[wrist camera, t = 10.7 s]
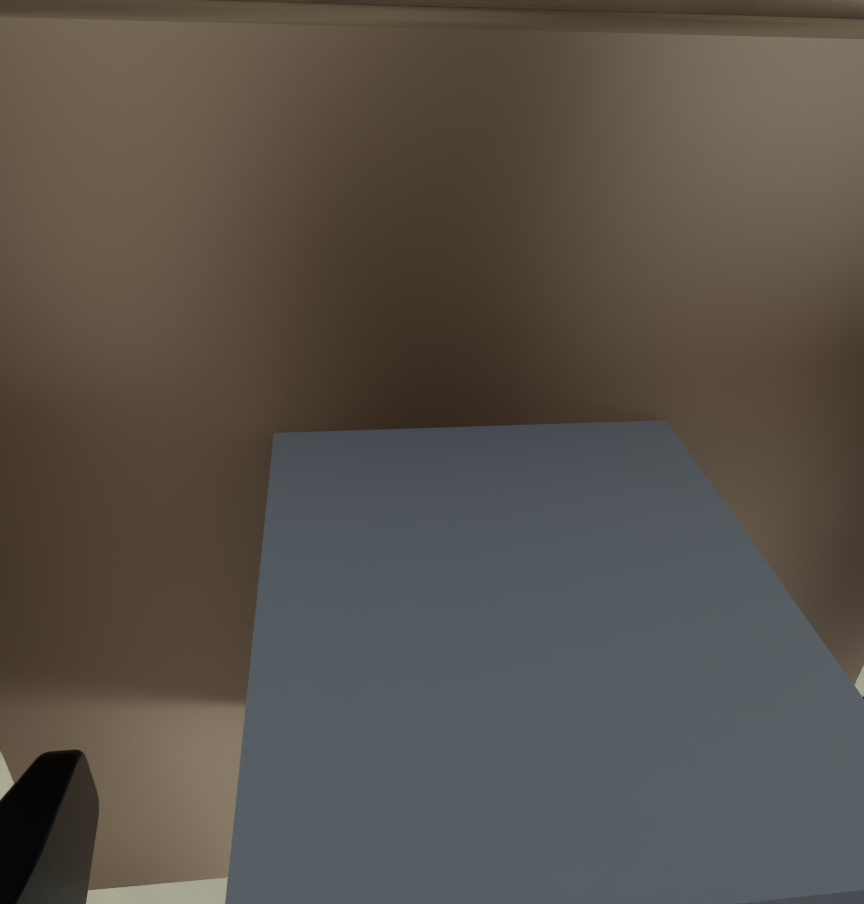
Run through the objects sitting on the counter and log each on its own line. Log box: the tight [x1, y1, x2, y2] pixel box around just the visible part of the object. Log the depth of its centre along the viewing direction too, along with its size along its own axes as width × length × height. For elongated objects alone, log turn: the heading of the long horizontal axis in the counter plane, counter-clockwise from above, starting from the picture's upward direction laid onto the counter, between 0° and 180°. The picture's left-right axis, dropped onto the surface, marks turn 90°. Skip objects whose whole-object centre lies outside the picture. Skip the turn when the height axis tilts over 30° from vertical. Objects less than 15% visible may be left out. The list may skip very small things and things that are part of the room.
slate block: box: [225, 420, 864, 904], centre depth 9 cm, size 5×5×6 cm
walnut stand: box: [0, 0, 864, 890], centre depth 13 cm, size 14×14×3 cm
